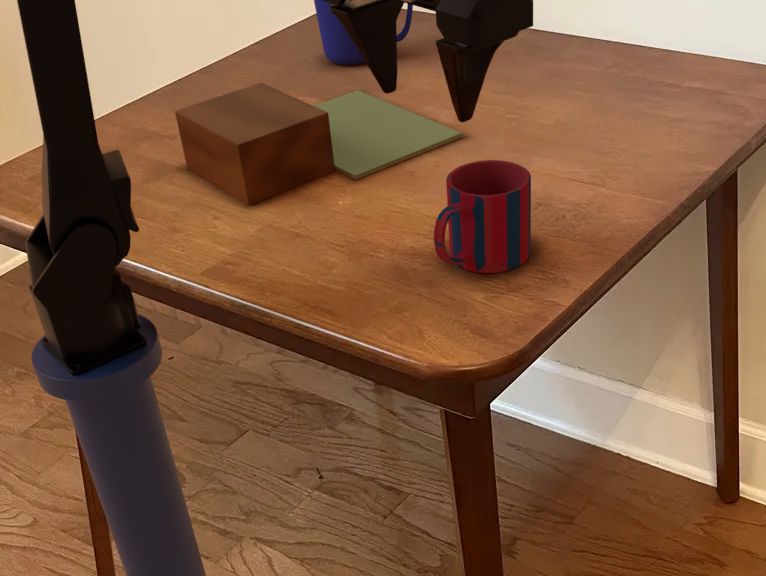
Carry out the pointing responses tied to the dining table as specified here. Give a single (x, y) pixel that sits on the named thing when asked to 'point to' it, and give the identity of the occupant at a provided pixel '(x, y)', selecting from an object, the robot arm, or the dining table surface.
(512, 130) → the dining table surface
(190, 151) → the step
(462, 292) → the dining table surface
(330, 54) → the mug
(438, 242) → the cup
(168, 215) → the dining table surface
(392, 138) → the mat
